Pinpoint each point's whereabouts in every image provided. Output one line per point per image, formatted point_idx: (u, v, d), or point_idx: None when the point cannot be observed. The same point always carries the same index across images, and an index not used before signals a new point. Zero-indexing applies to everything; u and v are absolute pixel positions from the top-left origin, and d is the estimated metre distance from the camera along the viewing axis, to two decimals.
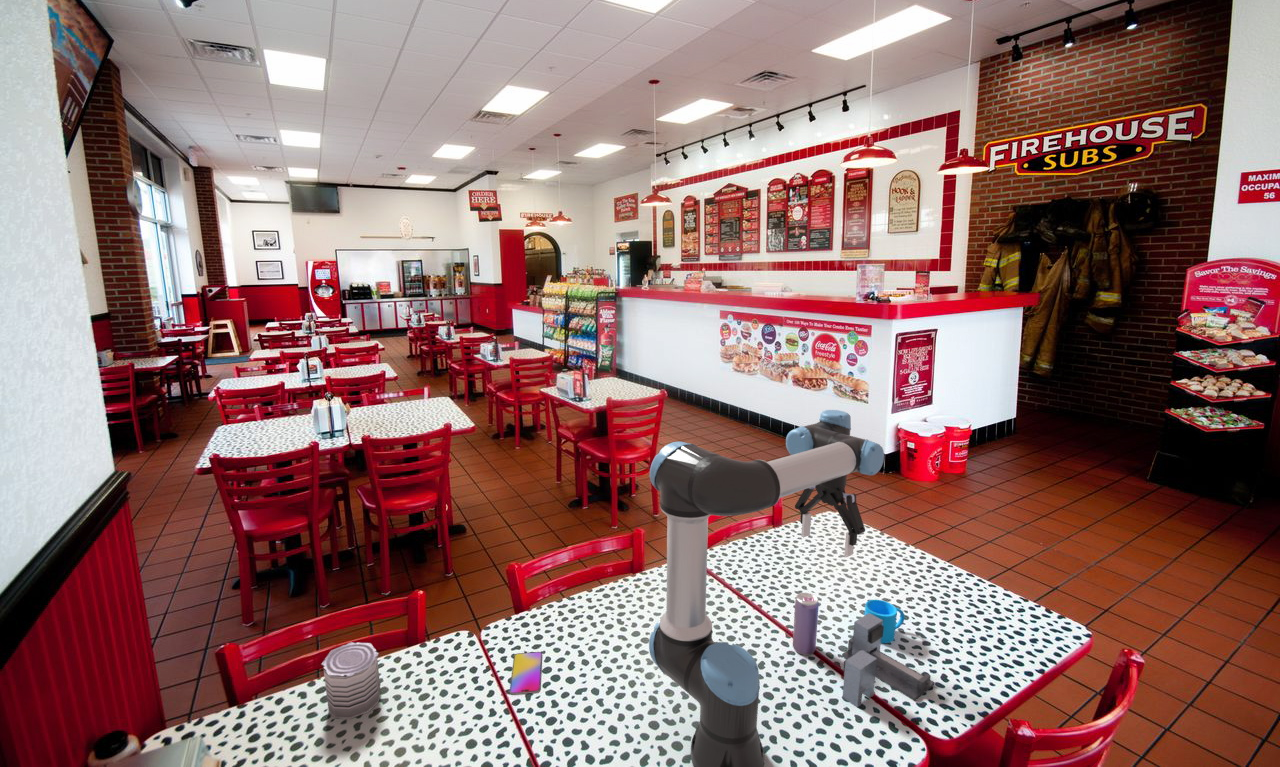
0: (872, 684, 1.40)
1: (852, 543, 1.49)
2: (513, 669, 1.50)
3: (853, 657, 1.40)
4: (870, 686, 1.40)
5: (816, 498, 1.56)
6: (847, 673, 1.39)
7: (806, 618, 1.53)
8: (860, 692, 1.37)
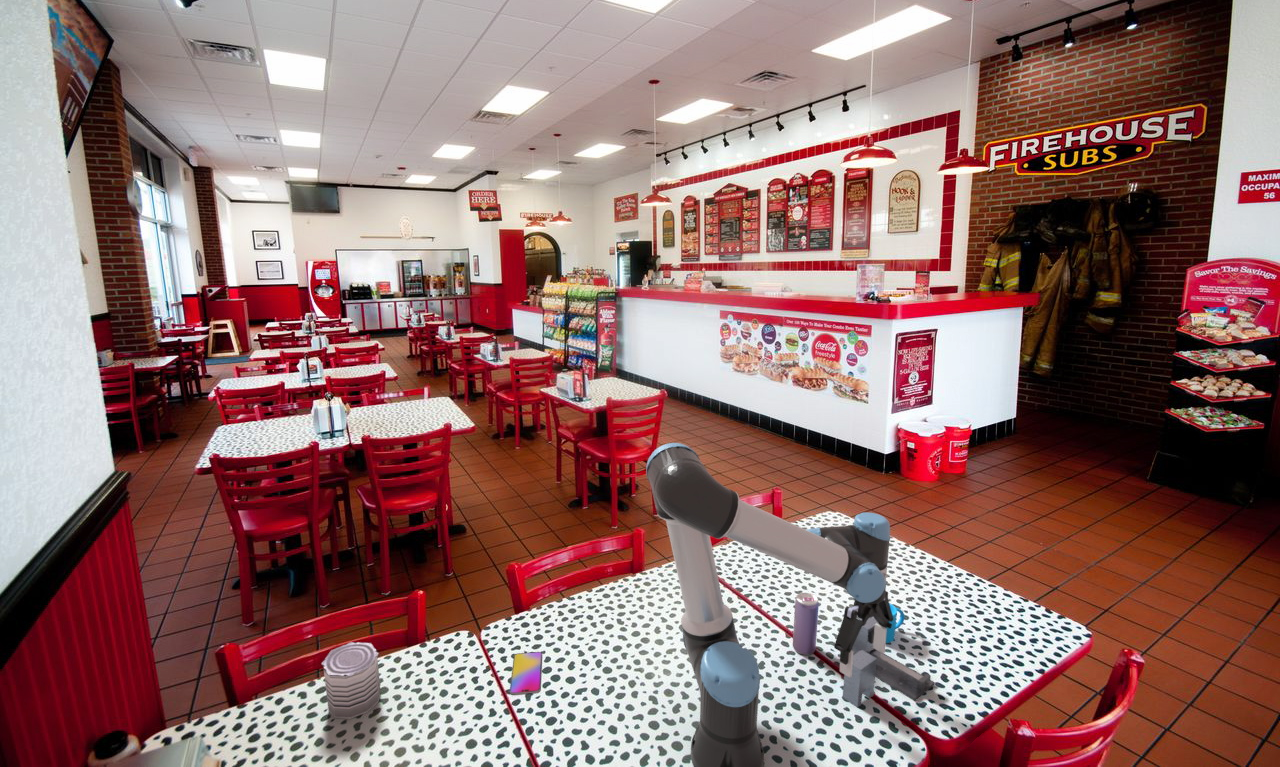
0: (872, 684, 1.40)
1: None
2: (513, 669, 1.50)
3: (853, 657, 1.40)
4: (870, 686, 1.40)
5: None
6: None
7: (806, 618, 1.53)
8: (860, 692, 1.37)
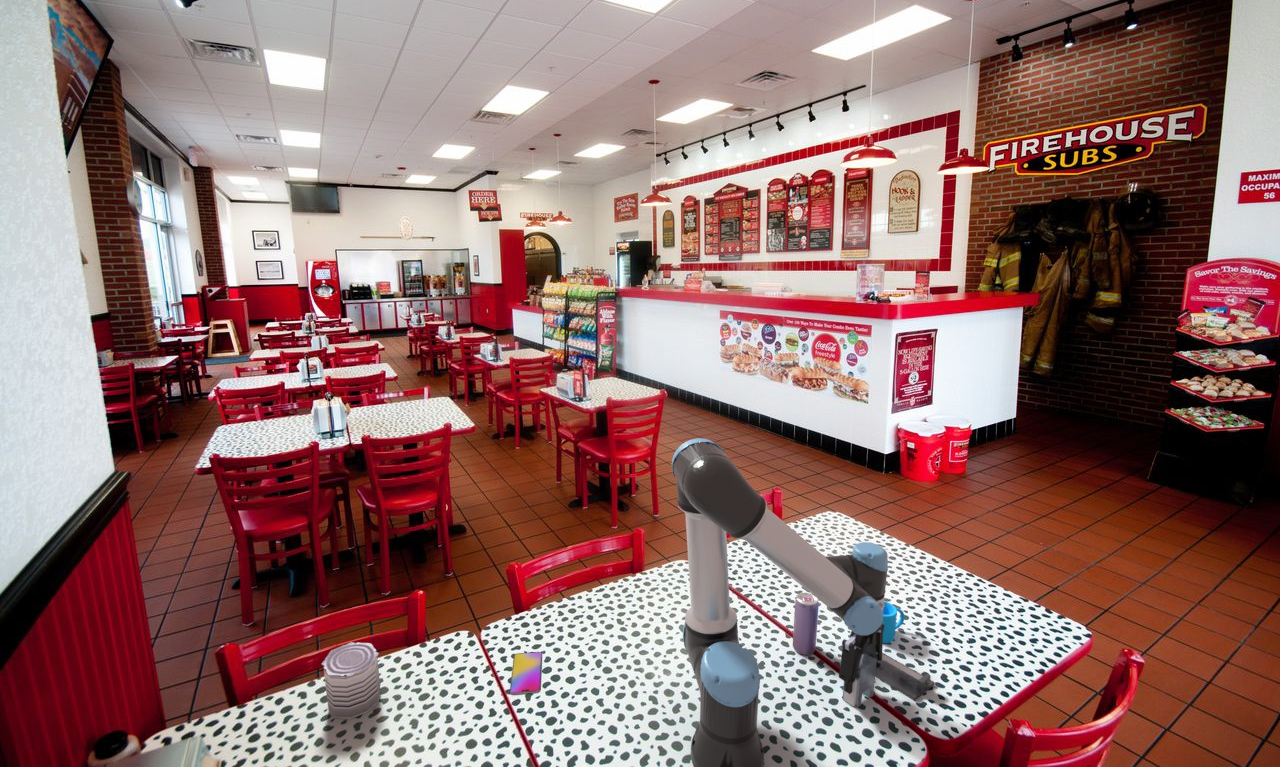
0: (872, 684, 1.40)
1: None
2: (513, 669, 1.50)
3: None
4: (870, 686, 1.40)
5: None
6: None
7: (806, 618, 1.53)
8: (860, 692, 1.37)
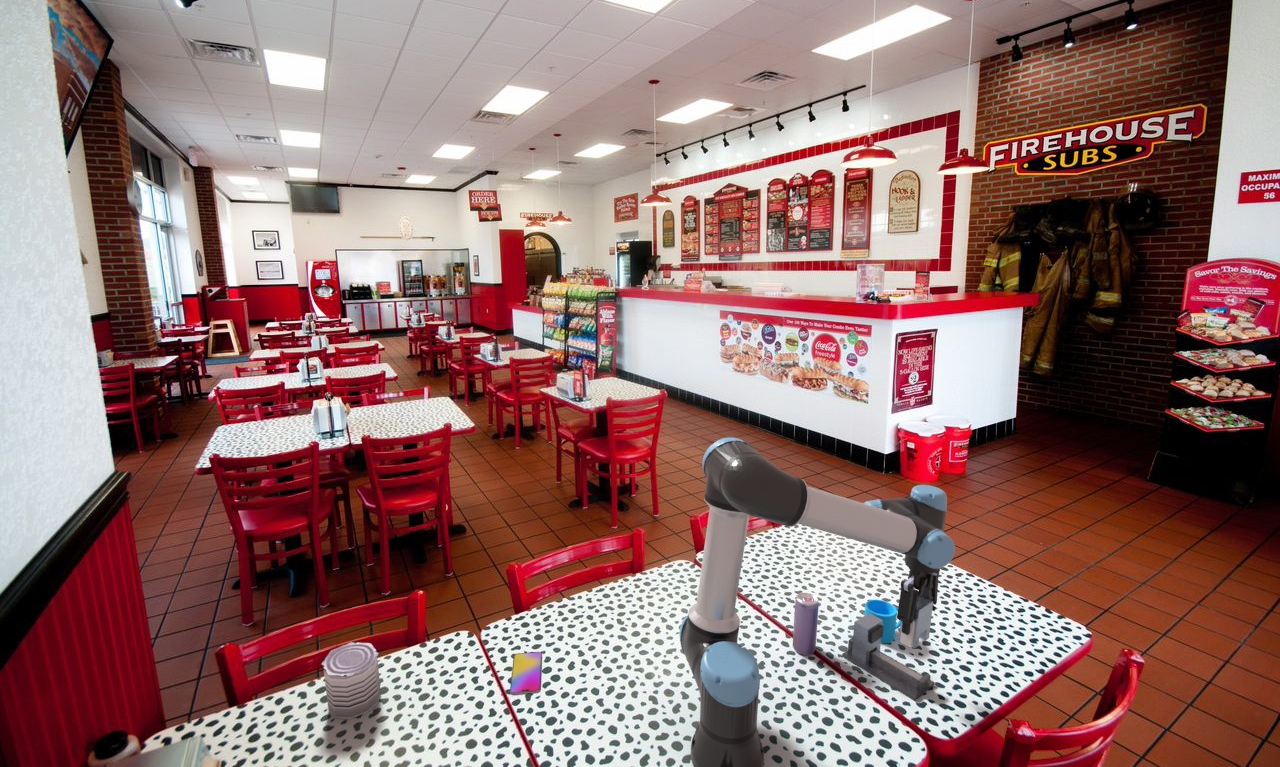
0: (928, 627, 1.42)
1: None
2: (513, 669, 1.50)
3: None
4: (926, 628, 1.42)
5: None
6: None
7: (806, 618, 1.53)
8: (918, 633, 1.39)
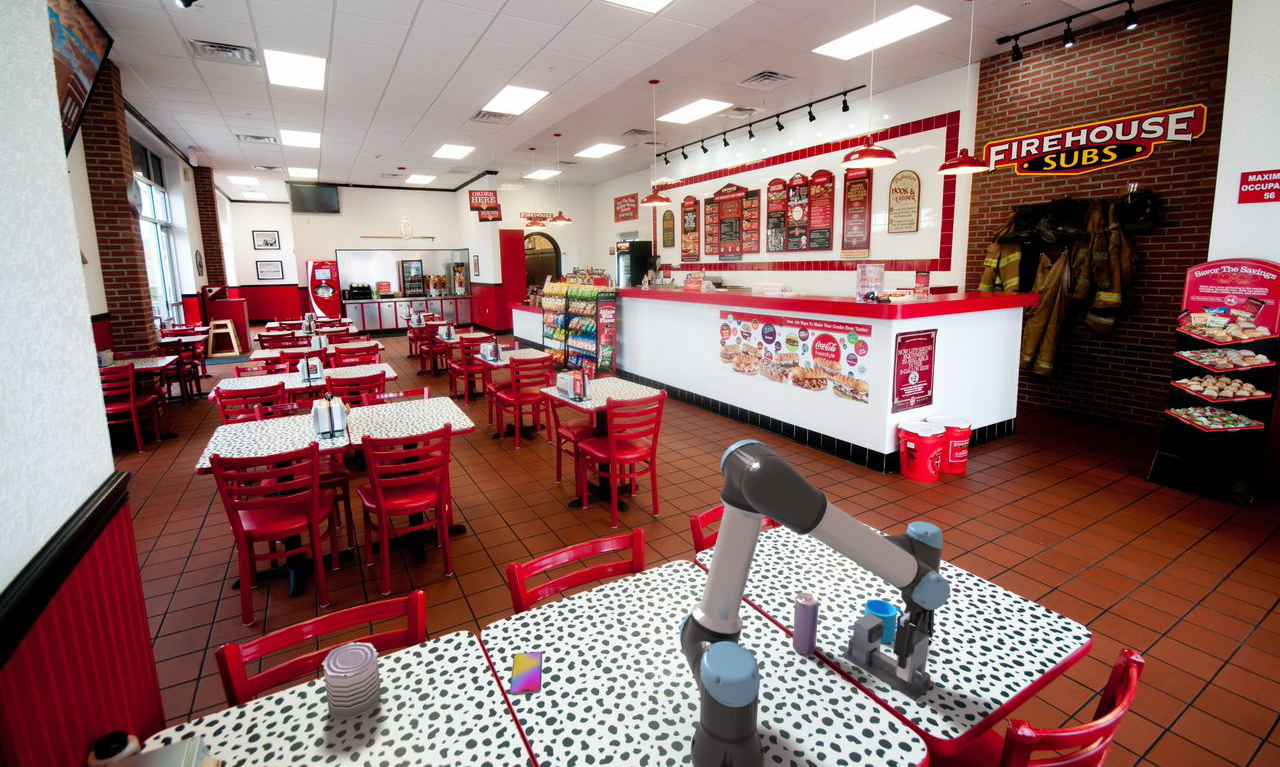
0: (924, 660, 1.44)
1: None
2: (513, 669, 1.50)
3: None
4: (922, 662, 1.43)
5: None
6: None
7: (806, 618, 1.53)
8: (914, 667, 1.41)
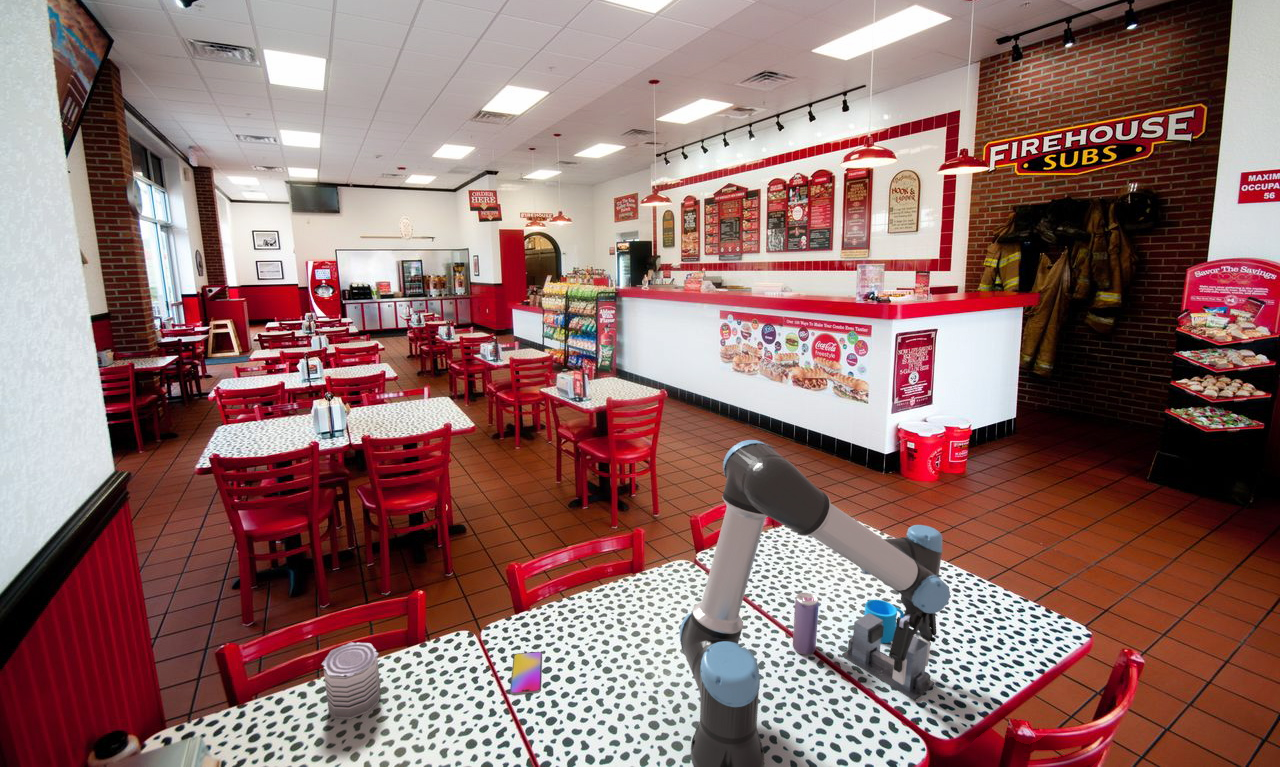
0: (923, 669, 1.44)
1: None
2: (513, 669, 1.50)
3: None
4: (921, 671, 1.44)
5: None
6: None
7: (806, 618, 1.53)
8: (912, 676, 1.41)
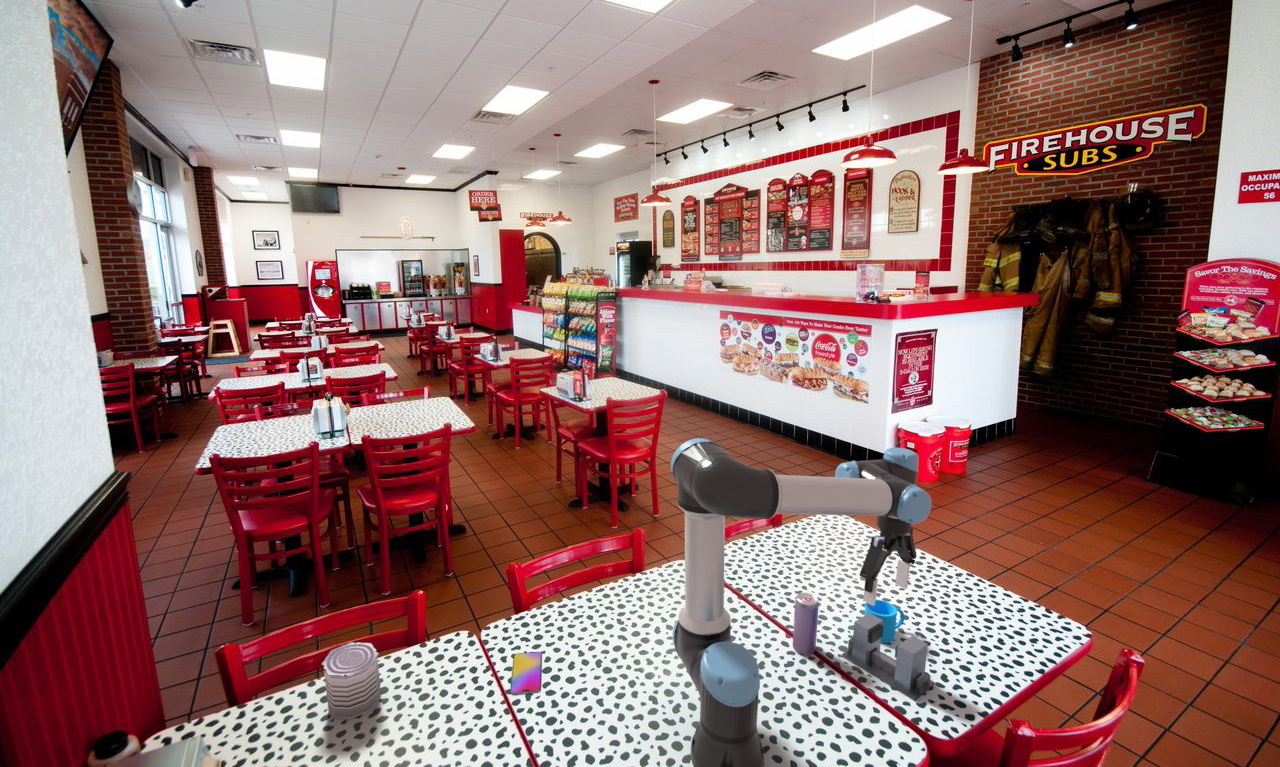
0: (923, 669, 1.44)
1: None
2: (513, 669, 1.50)
3: (904, 642, 1.44)
4: (921, 671, 1.44)
5: None
6: (899, 658, 1.43)
7: (806, 618, 1.53)
8: (912, 676, 1.41)
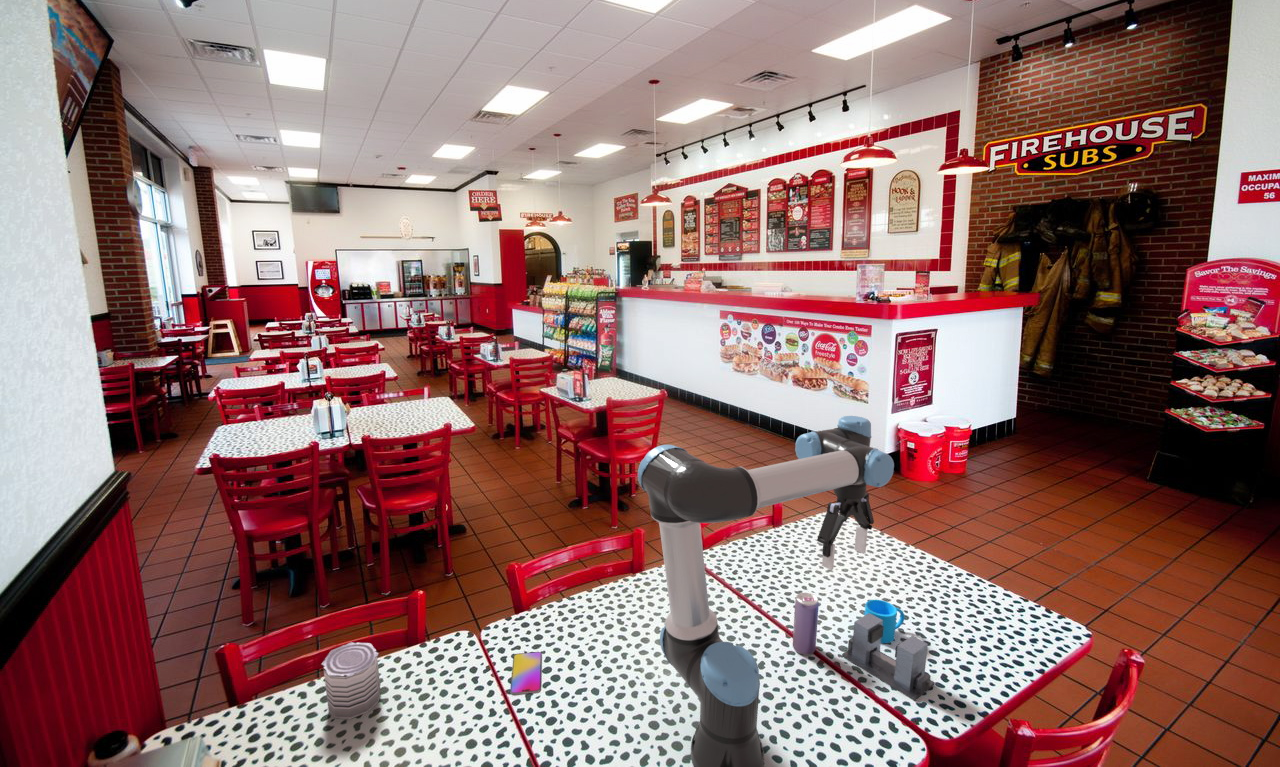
0: (923, 669, 1.44)
1: None
2: (513, 669, 1.50)
3: (904, 642, 1.44)
4: (921, 671, 1.44)
5: None
6: (899, 658, 1.43)
7: (806, 618, 1.53)
8: (912, 676, 1.41)
